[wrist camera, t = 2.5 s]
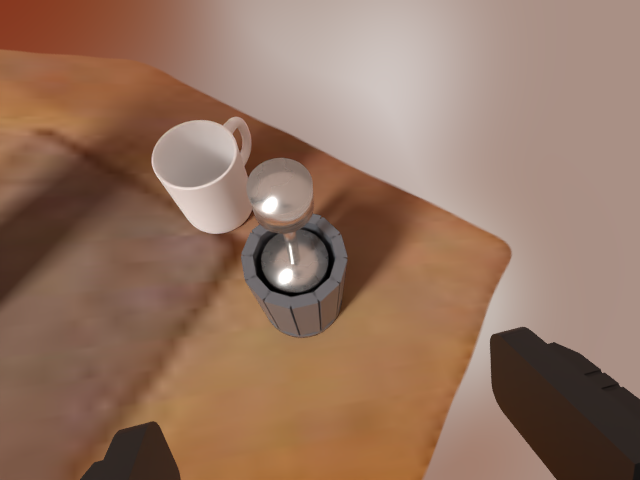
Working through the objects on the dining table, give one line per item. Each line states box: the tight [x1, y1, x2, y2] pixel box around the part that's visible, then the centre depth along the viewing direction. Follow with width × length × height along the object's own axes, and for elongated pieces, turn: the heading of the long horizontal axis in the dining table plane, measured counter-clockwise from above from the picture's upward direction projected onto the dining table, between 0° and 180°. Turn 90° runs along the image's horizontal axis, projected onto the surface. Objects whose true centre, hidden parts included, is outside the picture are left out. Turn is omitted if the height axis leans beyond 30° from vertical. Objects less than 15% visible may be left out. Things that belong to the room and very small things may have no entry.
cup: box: [152, 117, 252, 234], centre depth 42 cm, size 8×12×10 cm
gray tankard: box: [241, 214, 347, 338], centre depth 36 cm, size 8×11×12 cm
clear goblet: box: [246, 158, 328, 295], centre depth 26 cm, size 5×5×12 cm
